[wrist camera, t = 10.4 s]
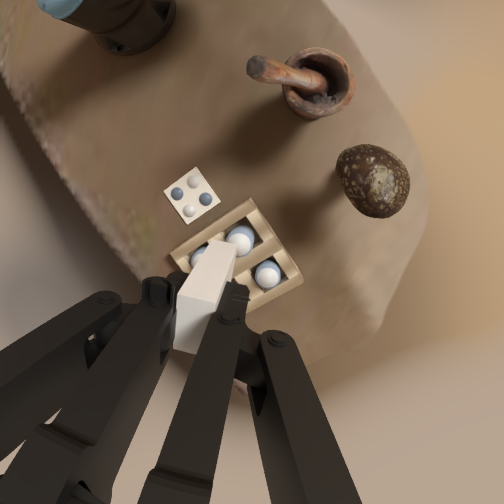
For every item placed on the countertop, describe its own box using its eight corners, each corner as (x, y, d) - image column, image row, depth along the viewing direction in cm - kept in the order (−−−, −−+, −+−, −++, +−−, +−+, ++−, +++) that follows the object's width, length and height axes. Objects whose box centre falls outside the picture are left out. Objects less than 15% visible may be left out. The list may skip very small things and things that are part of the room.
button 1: (191, 252, 52) (185, 260, 49) (209, 240, 51) (204, 247, 48) (205, 270, 53) (200, 279, 50) (223, 259, 52) (219, 267, 49)
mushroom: (384, 189, 46) (423, 210, 32) (337, 207, 48) (360, 234, 34) (366, 134, 43) (401, 133, 29) (316, 152, 45) (333, 156, 31)
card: (164, 190, 49) (163, 191, 49) (196, 166, 48) (195, 166, 47) (187, 224, 51) (187, 225, 51) (220, 201, 49) (220, 202, 49)
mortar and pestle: (274, 136, 45) (271, 132, 26) (253, 87, 42) (236, 51, 24) (343, 113, 43) (385, 96, 24) (322, 64, 40) (349, 18, 21)
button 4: (252, 265, 52) (250, 274, 49) (272, 253, 51) (271, 261, 48) (265, 283, 53) (264, 293, 50) (284, 272, 52) (285, 281, 49)
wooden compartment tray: (175, 247, 53) (169, 253, 50) (250, 196, 49) (249, 200, 46) (227, 315, 57) (225, 324, 54) (302, 274, 53) (303, 282, 50)
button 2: (224, 233, 48) (220, 240, 45) (245, 219, 47) (242, 226, 44) (238, 253, 49) (235, 262, 46) (259, 240, 48) (258, 248, 45)
